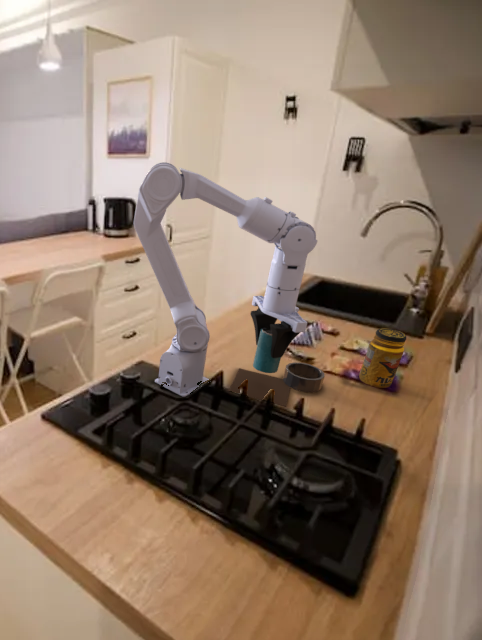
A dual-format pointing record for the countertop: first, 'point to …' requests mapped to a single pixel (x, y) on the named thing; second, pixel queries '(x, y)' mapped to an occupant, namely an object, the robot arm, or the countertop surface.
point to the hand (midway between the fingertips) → (268, 350)
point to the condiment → (383, 358)
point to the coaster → (261, 386)
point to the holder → (307, 371)
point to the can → (265, 353)
